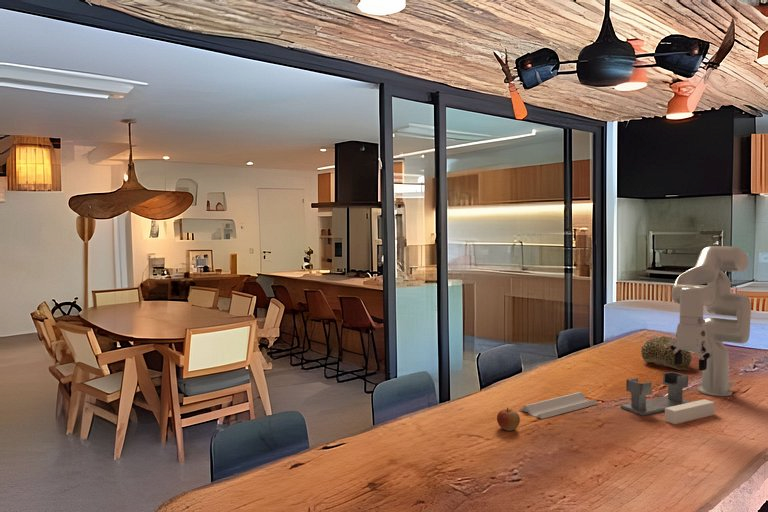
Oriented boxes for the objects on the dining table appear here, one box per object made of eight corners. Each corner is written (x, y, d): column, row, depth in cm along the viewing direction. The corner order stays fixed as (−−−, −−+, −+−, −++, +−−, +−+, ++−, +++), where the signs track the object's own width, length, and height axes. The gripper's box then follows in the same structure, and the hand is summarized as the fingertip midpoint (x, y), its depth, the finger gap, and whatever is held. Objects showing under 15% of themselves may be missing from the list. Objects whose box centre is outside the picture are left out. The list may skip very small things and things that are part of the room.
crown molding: (541, 421, 204) (541, 411, 204) (518, 412, 214) (518, 403, 214) (597, 406, 220) (597, 397, 220) (573, 398, 230) (573, 389, 230)
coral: (695, 368, 278) (698, 339, 277) (686, 373, 264) (688, 343, 263) (646, 359, 293) (649, 331, 292) (635, 364, 279) (638, 335, 279)
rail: (704, 412, 210) (704, 399, 210) (714, 415, 207) (714, 402, 207) (664, 421, 201) (664, 408, 201) (674, 425, 197) (674, 411, 197)
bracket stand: (670, 397, 227) (671, 370, 226) (693, 404, 218) (693, 376, 217) (620, 407, 215) (621, 378, 215) (642, 415, 206) (642, 385, 206)
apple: (507, 435, 189) (506, 412, 189) (492, 427, 196) (492, 405, 196) (524, 431, 193) (524, 408, 192) (509, 423, 200) (509, 402, 199)
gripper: (720, 323, 196) (719, 371, 197) (677, 316, 212) (676, 361, 212) (706, 325, 193) (705, 373, 194) (663, 318, 209) (662, 363, 209)
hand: (690, 367), depth 203 cm, fingers open, 9 cm apart
